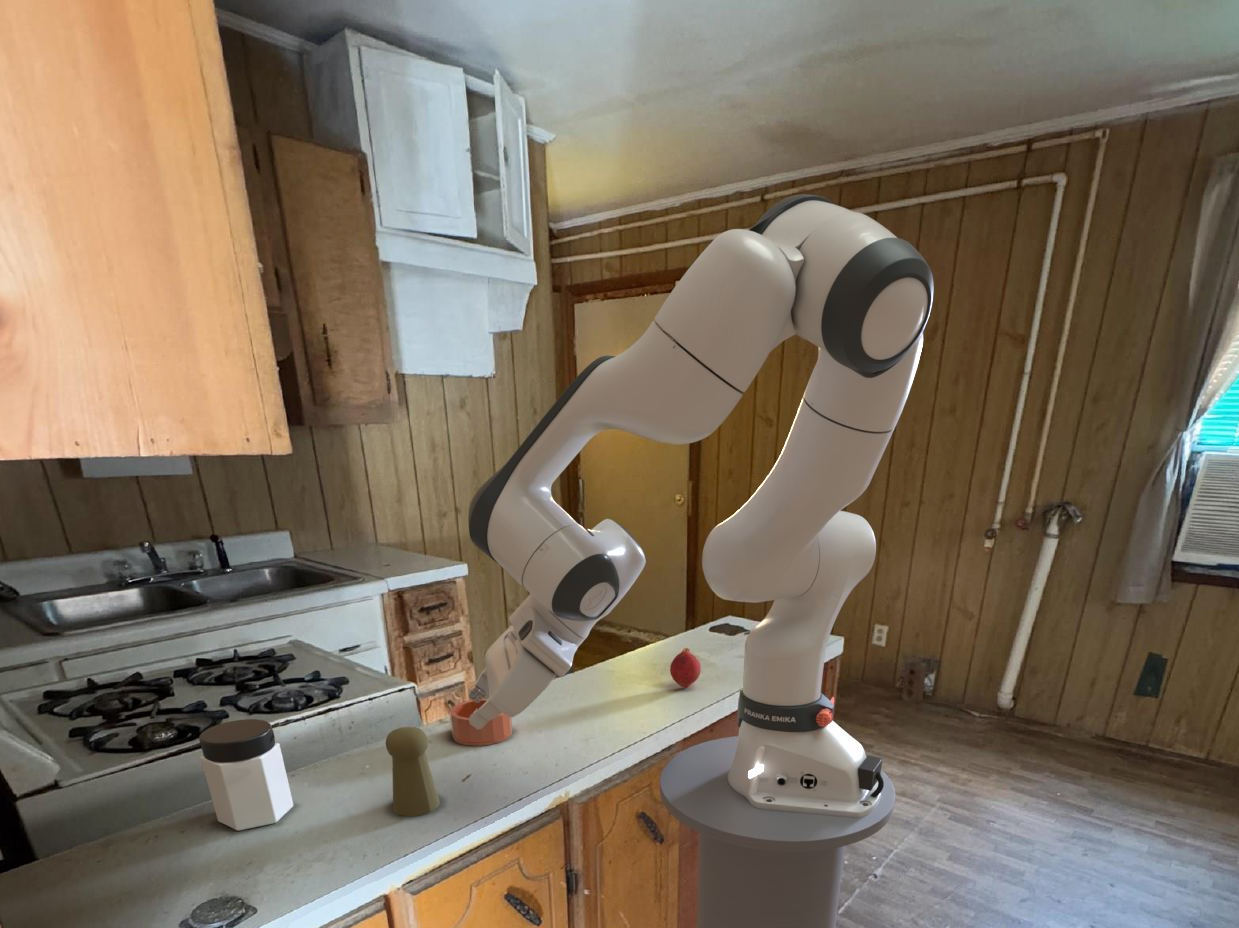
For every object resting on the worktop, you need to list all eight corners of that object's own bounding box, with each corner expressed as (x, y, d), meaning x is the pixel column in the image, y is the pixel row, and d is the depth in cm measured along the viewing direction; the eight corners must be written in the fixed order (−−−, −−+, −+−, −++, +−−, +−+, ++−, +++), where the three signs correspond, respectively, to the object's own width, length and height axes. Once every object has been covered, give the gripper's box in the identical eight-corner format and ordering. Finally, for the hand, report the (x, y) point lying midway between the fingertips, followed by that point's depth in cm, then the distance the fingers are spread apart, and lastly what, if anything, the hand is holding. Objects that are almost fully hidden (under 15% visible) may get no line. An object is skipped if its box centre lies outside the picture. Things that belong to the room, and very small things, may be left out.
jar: (305, 810, 98) (287, 727, 94) (246, 837, 92) (223, 749, 87) (266, 793, 103) (247, 713, 98) (207, 818, 97) (183, 733, 92)
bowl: (523, 728, 124) (521, 703, 122) (490, 749, 116) (487, 723, 114) (475, 720, 128) (472, 695, 126) (440, 740, 120) (437, 714, 118)
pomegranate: (690, 694, 139) (691, 654, 136) (664, 689, 142) (664, 649, 138) (705, 686, 143) (706, 646, 140) (679, 681, 146) (680, 641, 143)
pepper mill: (387, 802, 100) (374, 728, 96) (430, 790, 103) (420, 718, 99) (401, 820, 96) (388, 743, 91) (446, 807, 99) (436, 732, 94)
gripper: (518, 598, 101) (453, 671, 103) (532, 637, 83) (452, 725, 85) (552, 627, 104) (488, 698, 106) (573, 672, 86) (495, 756, 88)
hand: (472, 711), depth 95 cm, fingers open, 8 cm apart
